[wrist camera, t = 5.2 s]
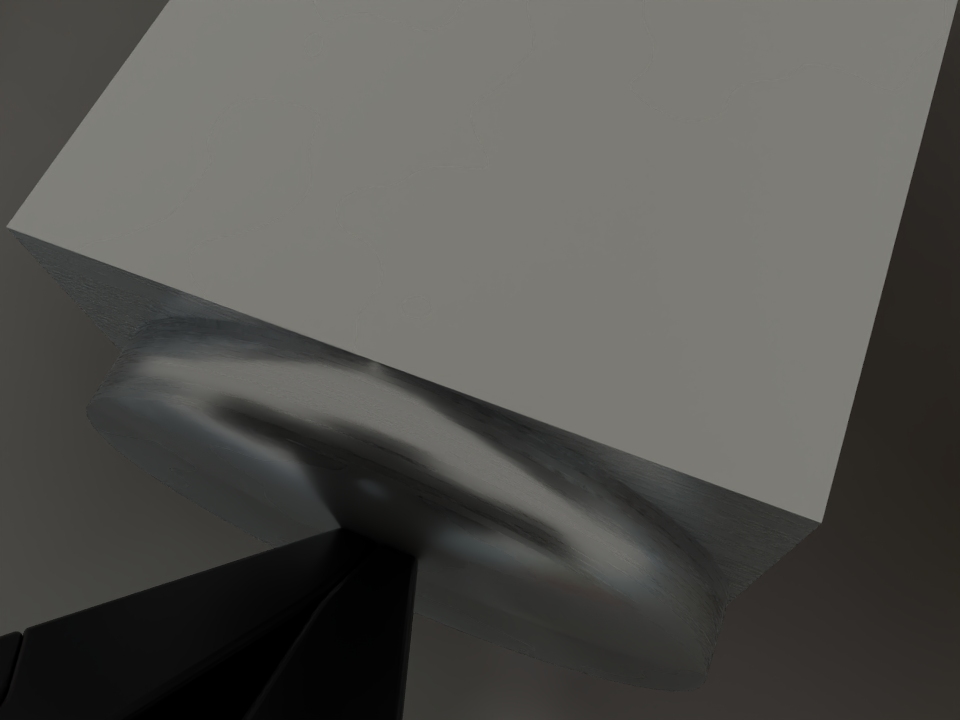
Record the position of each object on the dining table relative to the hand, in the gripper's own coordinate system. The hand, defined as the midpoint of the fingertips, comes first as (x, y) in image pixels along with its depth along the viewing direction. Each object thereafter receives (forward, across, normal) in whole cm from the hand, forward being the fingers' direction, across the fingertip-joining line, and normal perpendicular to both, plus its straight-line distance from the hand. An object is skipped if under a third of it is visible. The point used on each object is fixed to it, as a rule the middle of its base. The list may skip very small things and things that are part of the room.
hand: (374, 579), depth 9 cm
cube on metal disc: (+5, 0, 0) cm, 5 cm away
